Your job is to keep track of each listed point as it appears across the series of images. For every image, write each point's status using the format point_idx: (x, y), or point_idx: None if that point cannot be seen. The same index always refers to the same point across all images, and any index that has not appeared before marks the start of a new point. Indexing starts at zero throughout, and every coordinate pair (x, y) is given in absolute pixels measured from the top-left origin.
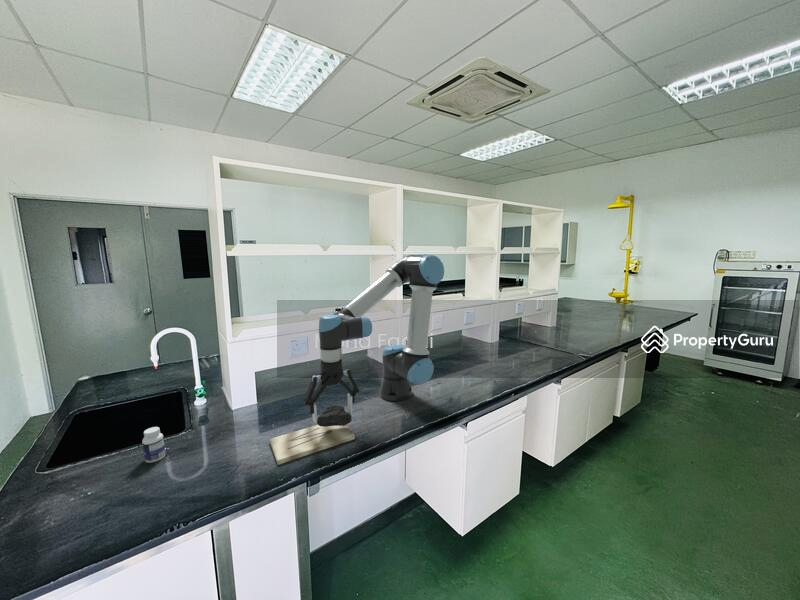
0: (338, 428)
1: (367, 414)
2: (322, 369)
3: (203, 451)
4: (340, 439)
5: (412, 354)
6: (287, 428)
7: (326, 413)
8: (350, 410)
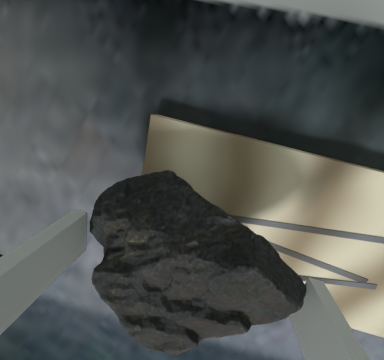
0: None
1: (34, 218)
2: None
3: None
4: (222, 134)
5: None
6: (287, 343)
7: (229, 304)
8: (73, 225)
